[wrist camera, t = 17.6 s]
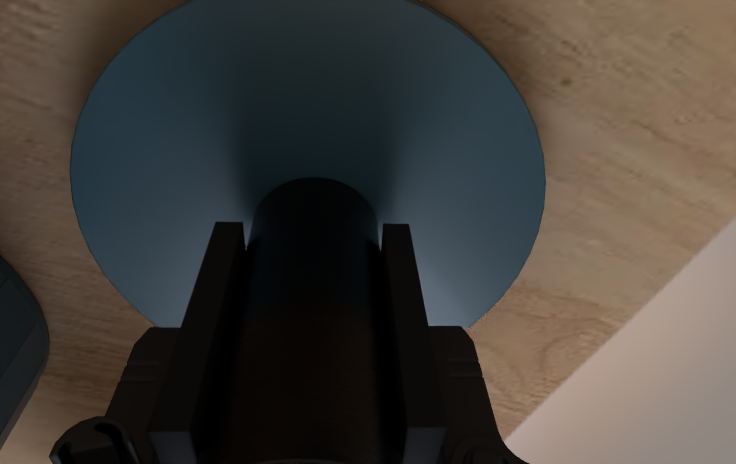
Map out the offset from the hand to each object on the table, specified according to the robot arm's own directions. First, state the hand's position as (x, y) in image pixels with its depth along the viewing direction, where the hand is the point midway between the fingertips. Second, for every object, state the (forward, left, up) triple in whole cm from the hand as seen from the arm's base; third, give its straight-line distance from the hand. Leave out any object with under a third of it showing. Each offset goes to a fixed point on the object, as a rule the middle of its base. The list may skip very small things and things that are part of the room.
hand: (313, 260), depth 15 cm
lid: (0, 0, -2) cm, 2 cm away
